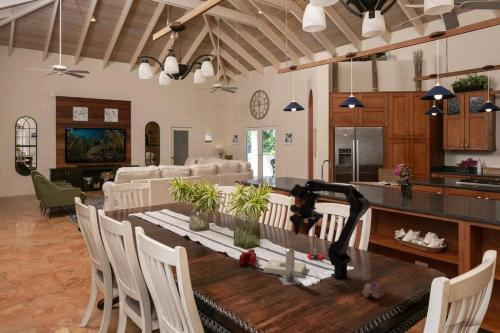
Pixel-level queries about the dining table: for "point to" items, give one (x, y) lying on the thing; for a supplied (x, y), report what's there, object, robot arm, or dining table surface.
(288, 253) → the steel pin
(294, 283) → the pad
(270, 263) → the hole board
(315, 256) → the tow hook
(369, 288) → the skull
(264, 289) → the dining table surface
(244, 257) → the mechanical linkage
